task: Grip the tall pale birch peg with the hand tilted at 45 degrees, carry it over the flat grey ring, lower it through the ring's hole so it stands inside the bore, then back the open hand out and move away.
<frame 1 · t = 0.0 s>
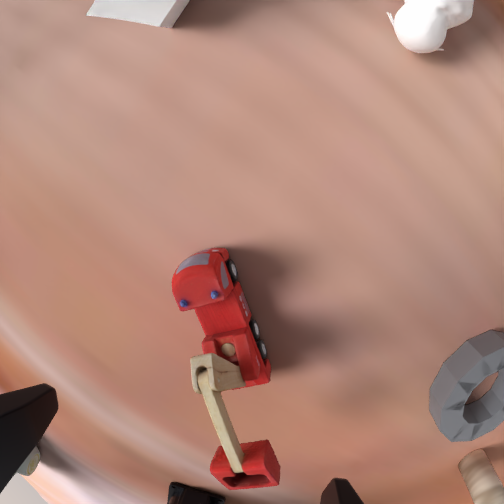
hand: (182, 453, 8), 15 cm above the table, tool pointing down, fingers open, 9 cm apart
figurine: (164, 4, 18), on the table
birch peg: (471, 459, 23), on the table
white animal statue: (422, 14, 16), on the table
air freshener: (23, 435, 32), on the table
grey ring: (476, 380, 21), on the table
toy fire truck: (239, 333, 23), on the table
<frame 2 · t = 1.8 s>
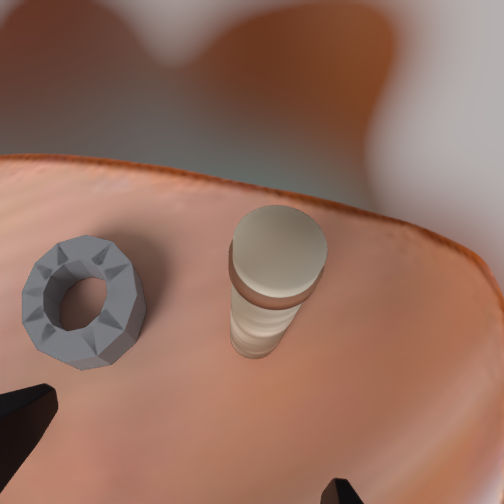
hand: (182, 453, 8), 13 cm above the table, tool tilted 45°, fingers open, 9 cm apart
birch peg: (254, 335, 23), on the table
grey ring: (88, 308, 23), on the table
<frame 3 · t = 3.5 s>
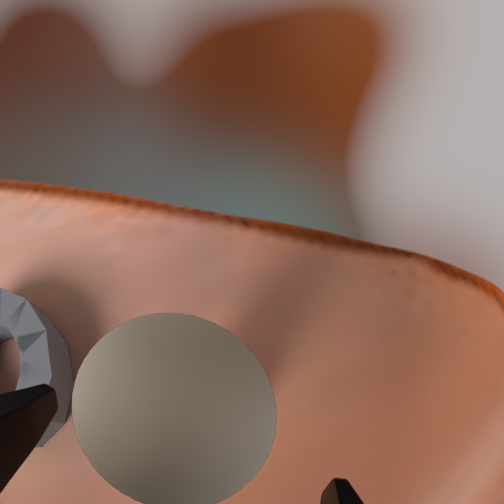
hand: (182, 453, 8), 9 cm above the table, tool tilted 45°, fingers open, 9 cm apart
birch peg: (208, 424, 15), on the table
grey ring: (13, 376, 15), on the table
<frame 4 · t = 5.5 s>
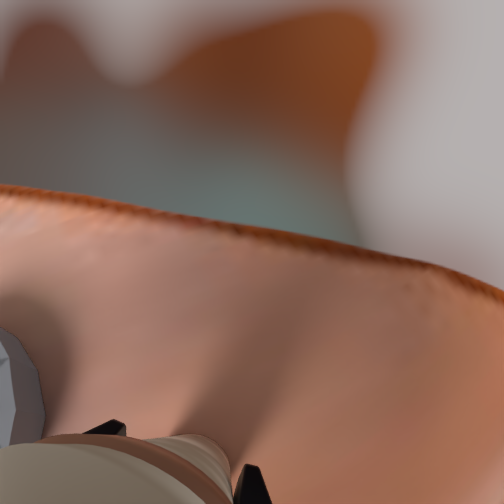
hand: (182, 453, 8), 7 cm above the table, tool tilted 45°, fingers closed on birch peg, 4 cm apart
birch peg: (192, 467, 12), on the table, touching gripper
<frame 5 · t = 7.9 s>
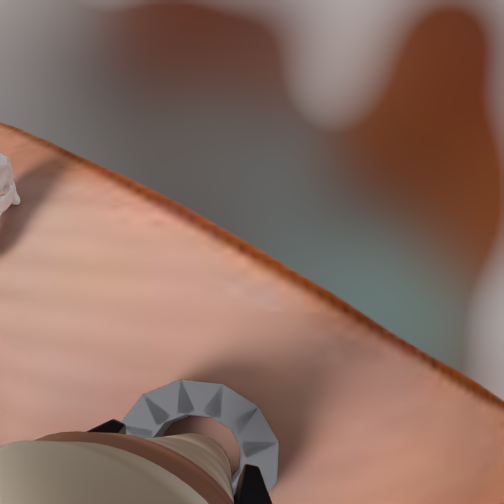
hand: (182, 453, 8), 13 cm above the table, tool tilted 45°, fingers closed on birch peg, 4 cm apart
birch peg: (193, 466, 12), point 7 cm above the table, touching gripper
grey ring: (199, 453, 18), on the table
when the fingers open (8 cm above the table, at t = 10.3 s): birch peg stays where it is, resting in grey ring.
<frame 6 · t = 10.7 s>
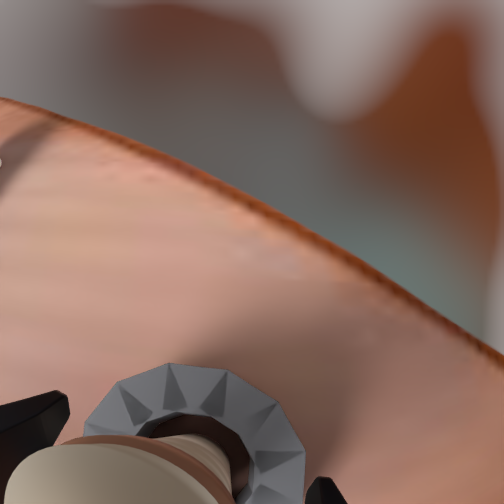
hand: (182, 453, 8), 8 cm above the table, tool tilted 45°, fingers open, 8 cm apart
birch peg: (194, 464, 13), resting in grey ring
grey ring: (194, 464, 13), on the table
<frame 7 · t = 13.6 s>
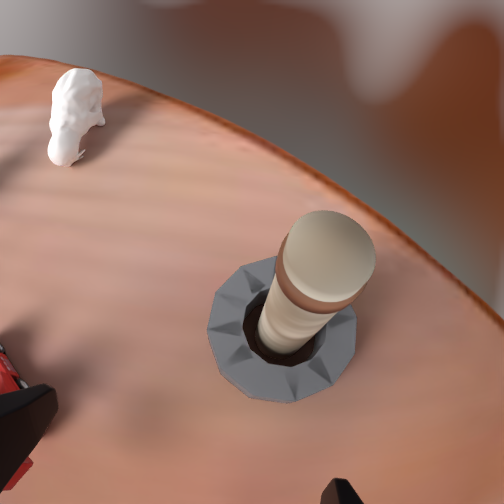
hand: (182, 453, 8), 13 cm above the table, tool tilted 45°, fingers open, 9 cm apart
birch peg: (278, 336, 23), resting in grey ring
white animal statue: (79, 143, 32), on the table
grey ring: (278, 335, 23), on the table
toy fire truck: (23, 402, 18), on the table
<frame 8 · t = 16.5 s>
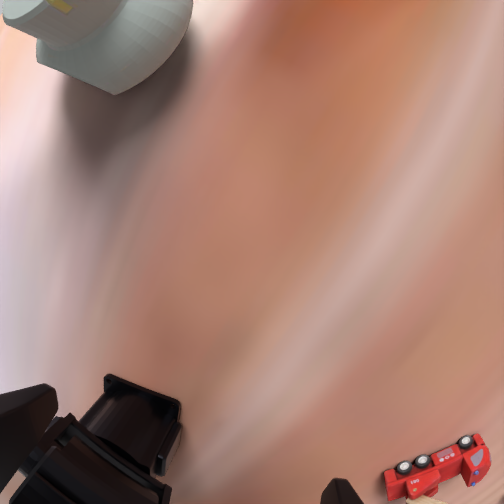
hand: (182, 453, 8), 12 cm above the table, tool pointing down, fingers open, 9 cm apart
air freshener: (130, 38, 17), on the table
toy fire truck: (415, 463, 21), on the table
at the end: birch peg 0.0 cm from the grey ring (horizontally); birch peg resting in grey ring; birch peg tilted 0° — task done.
